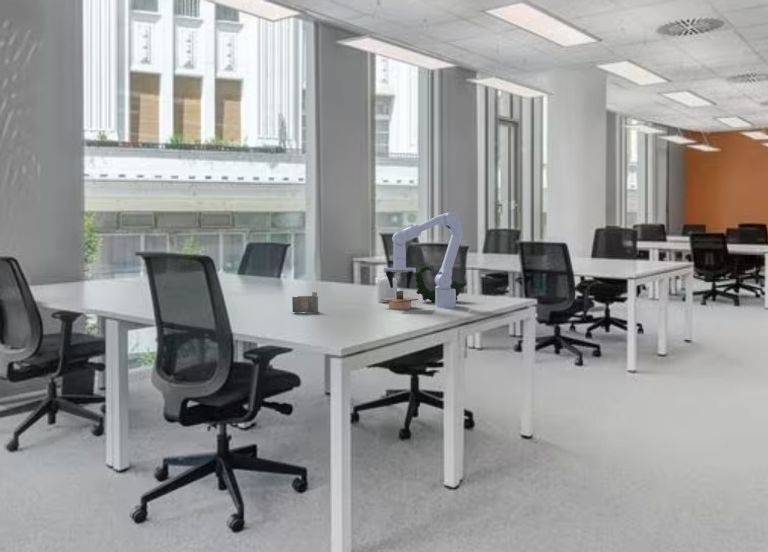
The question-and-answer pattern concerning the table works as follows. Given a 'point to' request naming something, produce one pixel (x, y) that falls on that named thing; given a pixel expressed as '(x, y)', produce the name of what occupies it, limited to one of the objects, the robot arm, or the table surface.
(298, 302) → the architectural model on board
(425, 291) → the toy figurine
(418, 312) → the mat
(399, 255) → the robot arm
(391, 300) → the lid
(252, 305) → the table surface
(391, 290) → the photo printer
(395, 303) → the bowl
